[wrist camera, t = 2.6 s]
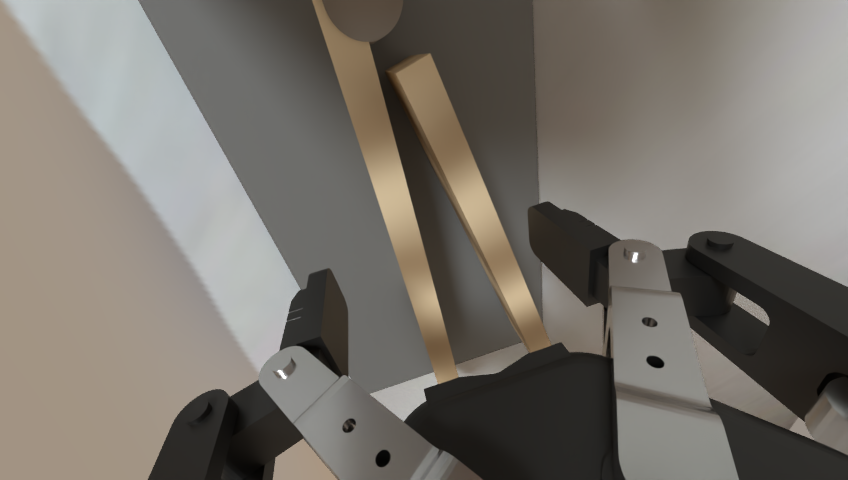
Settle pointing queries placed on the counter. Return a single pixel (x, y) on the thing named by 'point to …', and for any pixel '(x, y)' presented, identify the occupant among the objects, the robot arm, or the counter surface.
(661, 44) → the counter surface
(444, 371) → the tongs
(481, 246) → the bar
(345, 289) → the mat
